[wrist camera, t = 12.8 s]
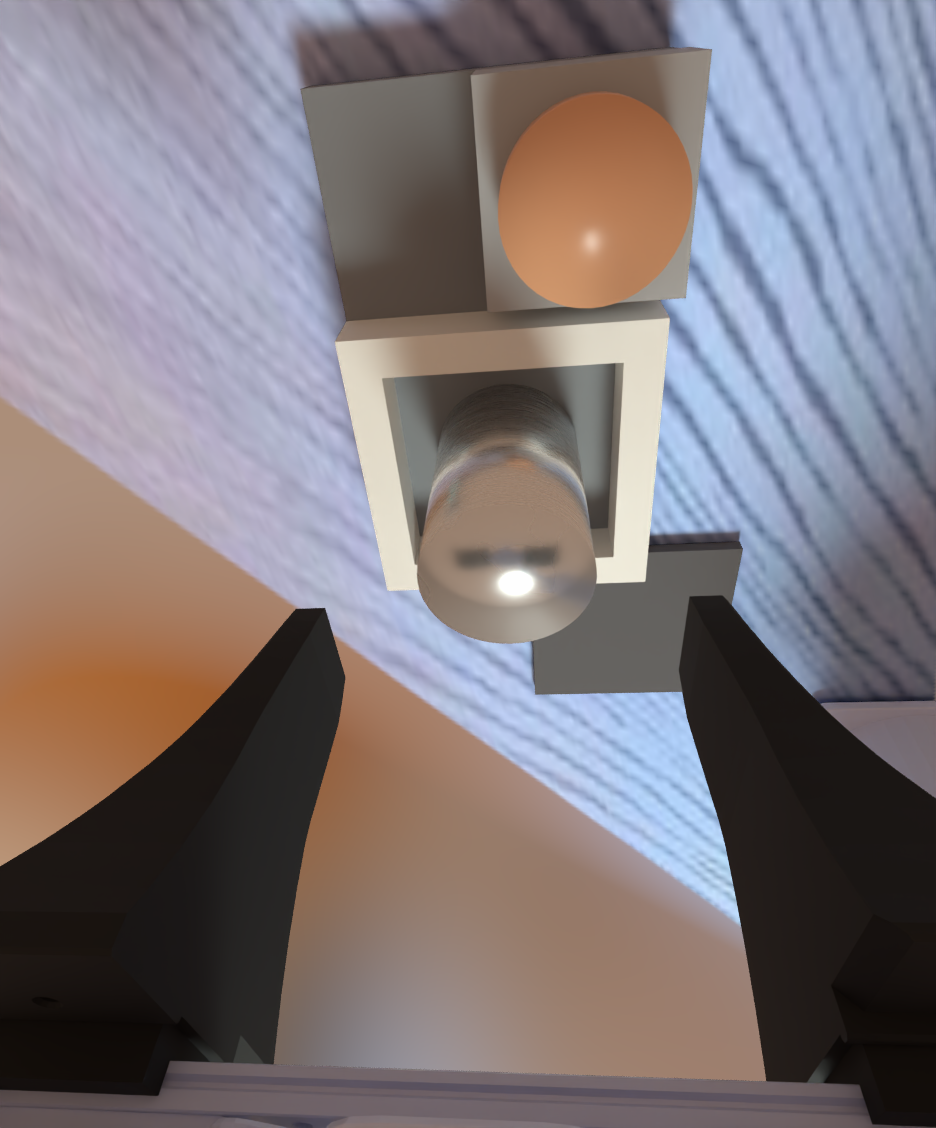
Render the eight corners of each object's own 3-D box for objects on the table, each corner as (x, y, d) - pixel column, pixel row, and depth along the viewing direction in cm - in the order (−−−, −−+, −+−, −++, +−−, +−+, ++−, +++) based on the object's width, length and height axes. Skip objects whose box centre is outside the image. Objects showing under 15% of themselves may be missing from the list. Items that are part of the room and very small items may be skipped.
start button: (655, 259, 16) (681, 302, 14) (504, 270, 17) (503, 314, 14) (669, 73, 14) (704, 83, 11) (495, 91, 14) (492, 105, 12)
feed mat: (711, 683, 27) (714, 691, 27) (535, 686, 28) (535, 694, 27) (739, 541, 23) (742, 548, 22) (529, 550, 23) (529, 557, 23)
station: (640, 533, 23) (654, 592, 20) (398, 543, 23) (385, 601, 21) (680, 45, 15) (711, 49, 12) (311, 85, 15) (275, 95, 13)
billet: (576, 502, 21) (594, 641, 16) (447, 508, 21) (428, 645, 17) (577, 378, 18) (599, 499, 14) (431, 388, 19) (404, 509, 14)
